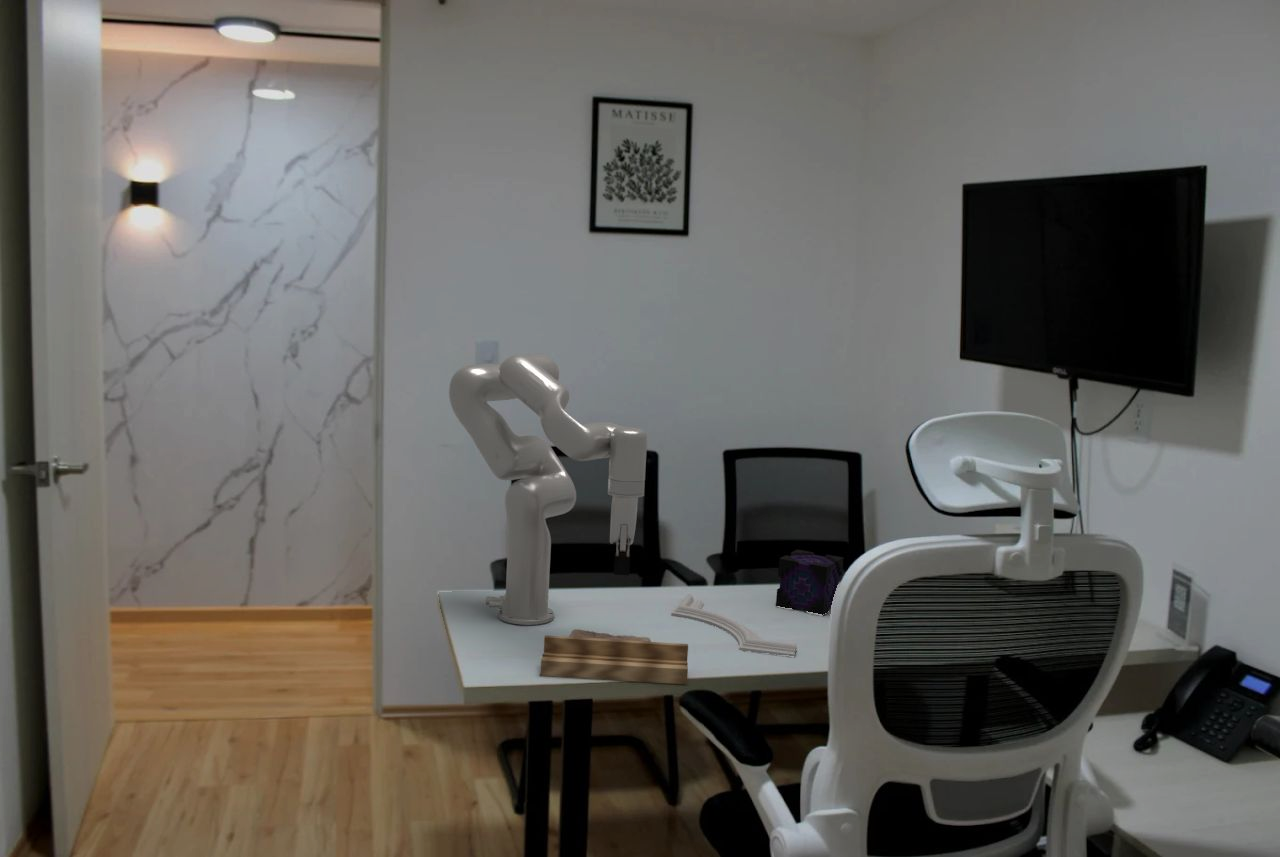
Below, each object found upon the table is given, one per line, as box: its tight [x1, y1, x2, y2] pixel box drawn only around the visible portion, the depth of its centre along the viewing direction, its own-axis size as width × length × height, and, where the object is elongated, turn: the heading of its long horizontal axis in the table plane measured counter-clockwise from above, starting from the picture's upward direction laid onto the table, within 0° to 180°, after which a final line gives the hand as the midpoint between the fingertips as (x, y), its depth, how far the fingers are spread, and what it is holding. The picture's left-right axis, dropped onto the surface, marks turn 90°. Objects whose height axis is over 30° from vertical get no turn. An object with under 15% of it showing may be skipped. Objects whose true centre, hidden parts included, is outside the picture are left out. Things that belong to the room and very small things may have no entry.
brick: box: [568, 628, 652, 642], centre depth 225 cm, size 17×8×5 cm, turn 85°
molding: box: [670, 593, 798, 657], centre depth 248 cm, size 42×12×3 cm, turn 32°
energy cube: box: [775, 549, 844, 615], centre depth 270 cm, size 12×12×12 cm
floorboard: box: [540, 634, 689, 685], centre depth 217 cm, size 28×10×6 cm, turn 89°
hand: (621, 573), depth 232 cm, fingers closed
